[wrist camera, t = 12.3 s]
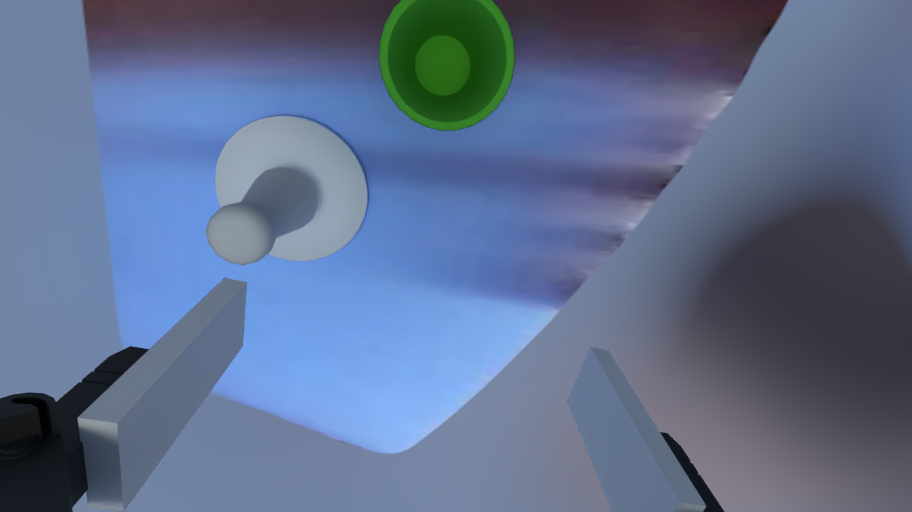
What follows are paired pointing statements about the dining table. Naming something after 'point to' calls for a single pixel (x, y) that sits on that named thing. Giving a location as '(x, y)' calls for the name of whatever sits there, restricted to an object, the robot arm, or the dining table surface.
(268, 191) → the salt shaker
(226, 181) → the ceramic plate
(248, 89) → the dining table surface
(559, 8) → the dining table surface
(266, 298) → the dining table surface
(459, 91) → the cup
